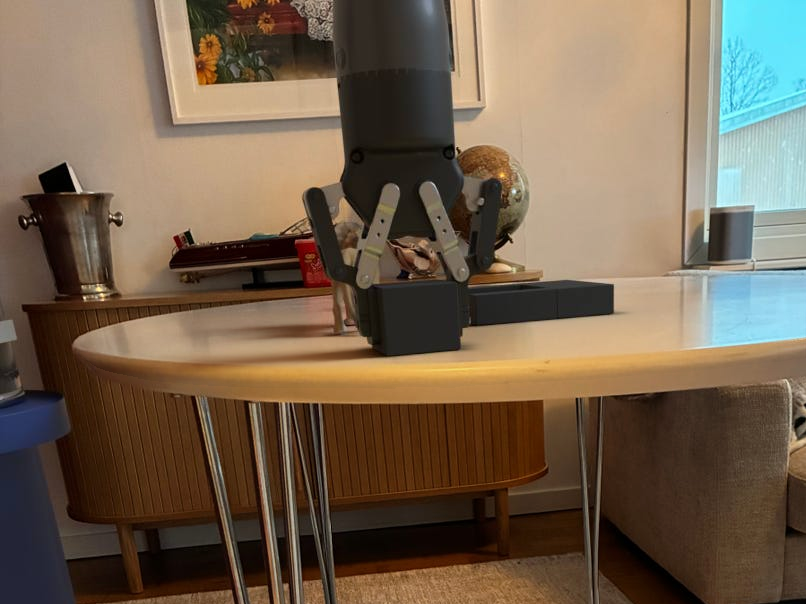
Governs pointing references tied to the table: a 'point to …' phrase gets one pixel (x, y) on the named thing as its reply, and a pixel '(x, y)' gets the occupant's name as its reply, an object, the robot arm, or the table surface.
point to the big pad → (539, 301)
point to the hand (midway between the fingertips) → (414, 339)
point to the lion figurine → (341, 291)
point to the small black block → (418, 317)
